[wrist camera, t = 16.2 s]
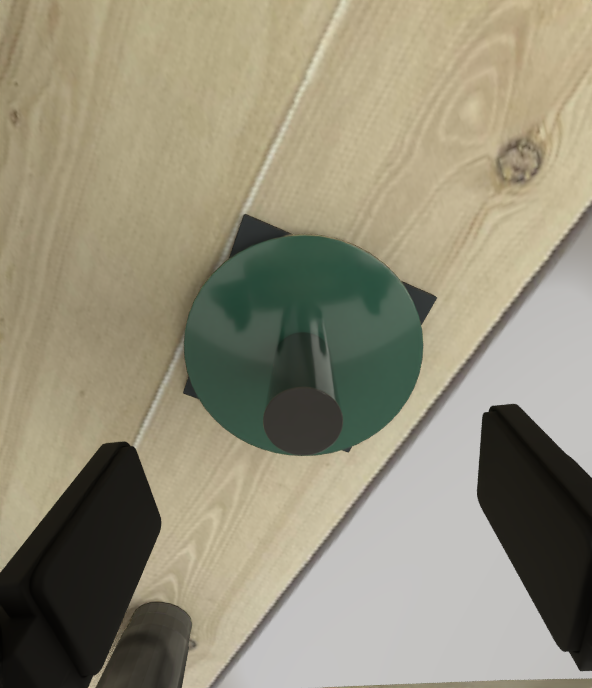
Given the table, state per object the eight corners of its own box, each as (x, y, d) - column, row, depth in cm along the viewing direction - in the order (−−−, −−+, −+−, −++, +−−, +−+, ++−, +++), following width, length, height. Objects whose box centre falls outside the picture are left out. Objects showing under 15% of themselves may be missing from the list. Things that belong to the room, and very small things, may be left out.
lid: (460, 290, 18) (545, 340, 12) (355, 468, 22) (376, 576, 16) (233, 190, 16) (190, 186, 10) (164, 401, 20) (104, 491, 14)
